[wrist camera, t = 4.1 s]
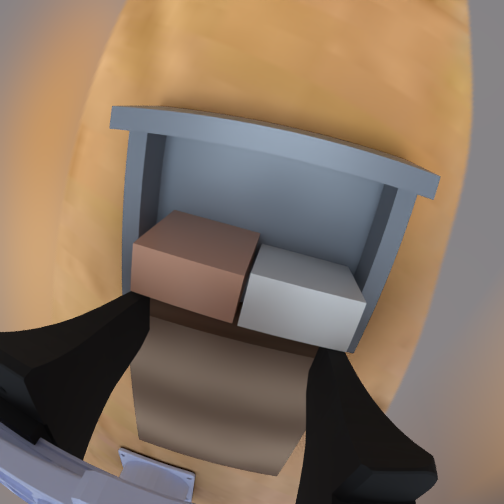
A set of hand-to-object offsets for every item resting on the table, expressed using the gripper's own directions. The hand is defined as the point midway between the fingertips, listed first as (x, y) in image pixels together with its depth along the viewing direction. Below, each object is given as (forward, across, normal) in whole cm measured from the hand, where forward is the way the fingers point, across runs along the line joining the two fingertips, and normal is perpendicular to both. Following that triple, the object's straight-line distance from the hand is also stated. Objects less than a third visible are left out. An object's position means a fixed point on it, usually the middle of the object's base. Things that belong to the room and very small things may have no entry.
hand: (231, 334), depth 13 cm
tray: (+4, 0, -4) cm, 5 cm away
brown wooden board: (+4, 0, +7) cm, 8 cm away
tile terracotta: (+1, +2, -1) cm, 3 cm away
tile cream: (+1, -2, -1) cm, 3 cm away
